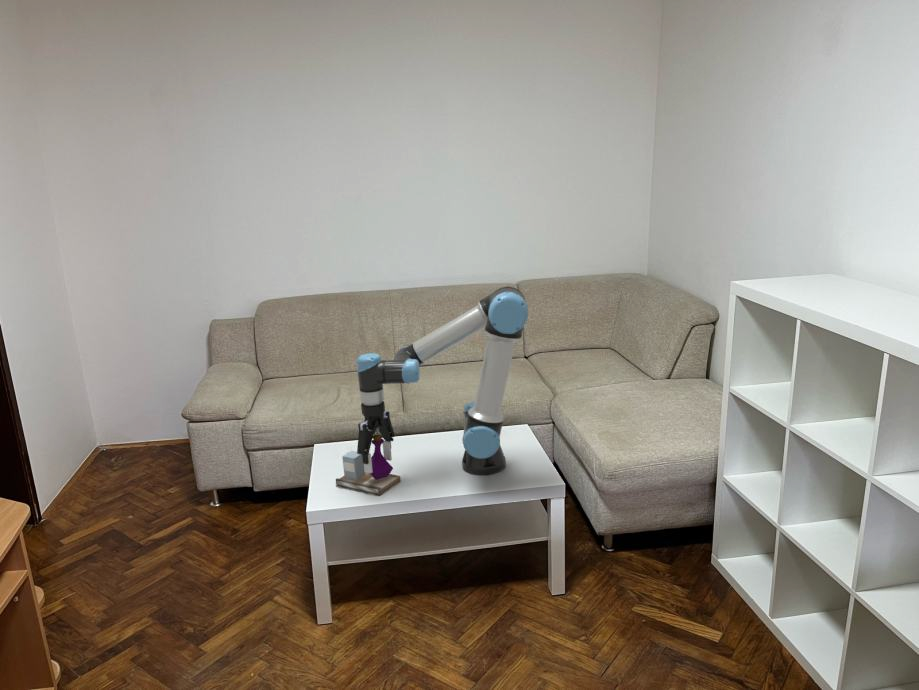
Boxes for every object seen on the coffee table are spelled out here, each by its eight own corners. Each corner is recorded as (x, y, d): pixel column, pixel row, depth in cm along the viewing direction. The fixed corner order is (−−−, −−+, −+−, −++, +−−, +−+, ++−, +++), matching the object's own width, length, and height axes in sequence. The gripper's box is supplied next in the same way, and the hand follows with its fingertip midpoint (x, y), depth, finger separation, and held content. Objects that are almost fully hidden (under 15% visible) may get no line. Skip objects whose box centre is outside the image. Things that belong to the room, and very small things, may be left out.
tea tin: (365, 474, 244) (363, 452, 242) (356, 480, 239) (353, 458, 237) (354, 472, 246) (351, 450, 244) (344, 478, 242) (342, 456, 240)
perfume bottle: (394, 477, 236) (389, 426, 232) (372, 483, 233) (367, 431, 228) (385, 469, 243) (381, 419, 238) (364, 475, 239) (359, 424, 235)
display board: (400, 481, 242) (400, 474, 241) (379, 496, 232) (378, 488, 231) (358, 472, 251) (357, 465, 250) (336, 486, 241) (335, 479, 240)
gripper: (383, 390, 243) (389, 451, 248) (340, 411, 224) (347, 477, 229) (402, 392, 239) (407, 454, 244) (360, 414, 220) (366, 481, 226)
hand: (378, 465), depth 237 cm, fingers closed on perfume bottle, 10 cm apart
